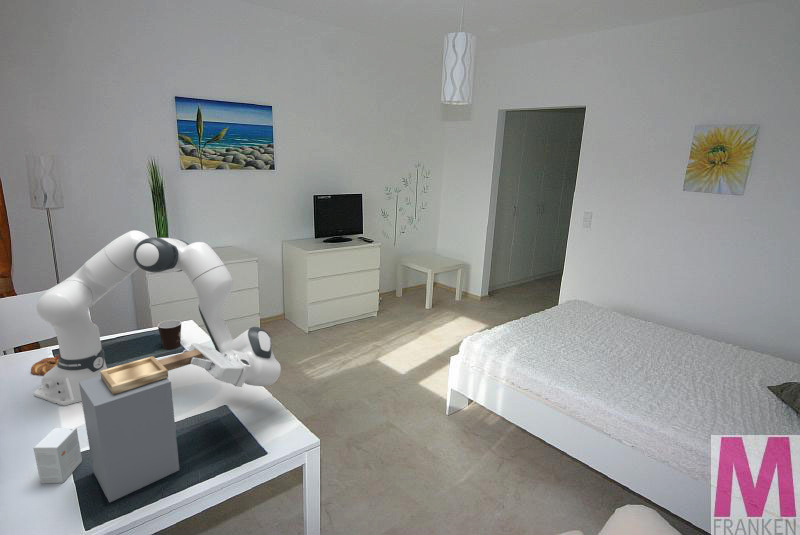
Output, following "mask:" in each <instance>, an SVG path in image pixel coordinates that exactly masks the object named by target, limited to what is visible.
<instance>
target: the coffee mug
mask: <svg viewBox="0 0 800 535" xmlns="http://www.w3.org/2000/svg"><path fill="white" fill-rule="evenodd" d="M157 328H158V333H159V337H160V341H161V345H162V349H163V350H166V351H172V350H177V349H178V348H180V347H181V342H182V341H181V335H182V321H181V320H177V319H169V320H164V321H163V320H162V321H161V322H159V323H158V324H157Z"/></svg>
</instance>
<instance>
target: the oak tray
mask: <svg viewBox="0 0 800 535" xmlns="http://www.w3.org/2000/svg"><path fill="white" fill-rule="evenodd" d="M192 356H194V357H198V358H200V359H203V357H202V353H201V352H200V351H198V350H197V349H195V350H192V351H188V352H185V353H183V352H181V353H179V354H175V355H171V356H168V357H163V358H161V359H157V358H156V357H155V356H154V355H152V356H148V357H144V358H140V359H138V360H133V361H130V362H127V363H123V364H119V365H116V366H113V367H110V368H109V367H107V369H105V370H101V371H100V374H101V379H102V380H103V381H104V383H105V384H106V385H107V387H108V388H109V390H110V391H111V392H112V394H113V395H114V394H117V393H120V392H123V391H126V390H130V389H133V388H136V387H139V386H142V385H145V384H148V383H152V382H155V381H158V380H161V379H164V378H169V371H172V370H175V369H179V368H181V367H185V366H189V365H192V364H191V363H190V362H189V360H190V358H191V357H192Z"/></svg>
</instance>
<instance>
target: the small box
mask: <svg viewBox="0 0 800 535" xmlns="http://www.w3.org/2000/svg"><path fill="white" fill-rule="evenodd" d="M33 452H34V457H35V462H36V466H37V472H38V477H39V482H40V483H41V484H60V483H61V484H62V483H65V481H66V480H67V479H69V477H70V476H71V475H72V473H74V471H75V470H76V469H77V468H78V467H79V465H80V464H81V463H82V462H83V458H82V452H81V445H80V440H79V435H78V428H77V427H53V429H52V430H50V431H49V432H48V433H47V434H46V435H45V436H44V437H43V438H42V439H41V440H39V442H38V443H37V444H36V445H35V446H33Z"/></svg>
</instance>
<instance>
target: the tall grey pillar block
mask: <svg viewBox="0 0 800 535" xmlns="http://www.w3.org/2000/svg"><path fill="white" fill-rule="evenodd" d="M79 386H80V393H81V399H82V401H81V403H82V404H81V405H82V410H83V418H84V422H85V428H86V429H85V430H86V434H87V442H88V447H89V453H90V454H89V455H90V458H91V459H90V460H91V466H92V472H93V474H94V476H95V478H96V481H98V483H99V486H100V487H101V490H102V491H103V493H104V496H105V498H106V499H107V501H108V503H112V502H114V501H116V500H118V499H120V498H123V497H125V496H127V495H129V494H132V493H134V492H135V491H137V490H141V489H142V488H144V487H146V486H149V485H150V484H153V483H155V482H157V481H159V480H162V479H163V478H166V477H168V476H169V475H170V476H171V475H172V474H174V473H176V472H178V471H180V462H179V460H180V459H179V452H178V442H177V433H176V431H177V430H176V422H175V413H174V412H175V410H174V401H173V393H172V382H171V380H170V379H169V377H167V378H164V379H161V380H158V381H155V382H152V383H148V384H145V385H142V386H139V387H136V388H133V389H130V390H126V391H123V392H120V393H117V394H114V395H113V394H112V392H111V391H110V390H109V388H108V387H107V385H106V384H105V383H104V381H103V380H102V379H101V376H98V377H94V378H91V379H87V380H84V381H80V382H79Z"/></svg>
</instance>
